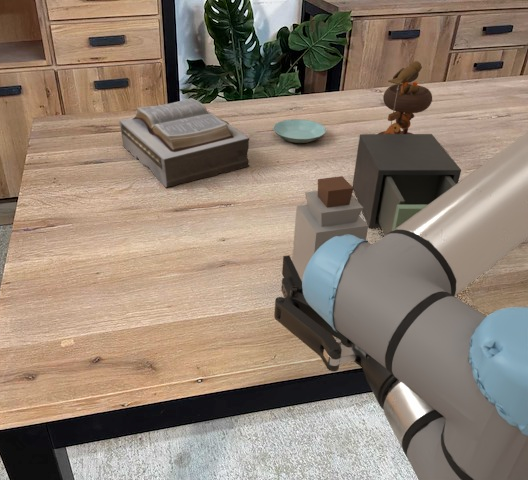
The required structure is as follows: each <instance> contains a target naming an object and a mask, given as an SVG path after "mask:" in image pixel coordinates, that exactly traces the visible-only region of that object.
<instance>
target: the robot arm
mask: <svg viewBox="0 0 528 480" xmlns="http://www.w3.org/2000/svg"><path fill="white" fill-rule="evenodd" d="M526 240H528V131H527V132H525V133H524V134H522V135H521V136H520V137H519V138H517V139H516V140H514V141H513V142H511V143H510V144H509V145H508V146H506V147H505V148H504V149H502V150H500V151H499V152H498V153H496V155H494V156H492V157H491V158H490V159H489V160H487V161H486V162H484V163H483V164H481V165H480V166H479V167H477V168H476V169H475V170H473V171H472V172H470V173H469V174H467V175H466V176H465V177H463V178H462V179H461V180H459V181H458V183H457V184H456V185H454V186H453V187H452V188H450V189H449V190H448V191H446V192H445V193H443V194H442V195H441V196H439V197H438V198H437V199H435V200H434V201H432V202H431V203H430V204H428V205H427V206H426V207H424V208H423V209H422V210H420V211H419V212H417V213H416V214H415V215H413V216H412V217H411V218H409V219H408V220H407V221H405V222H404V223H402V224H401V225H400V226H398V227H397V228H396V229H394V230H393V231H391V232H389V233H388V234H387V235H384V236H382V237H381V238H379V239H377V241H375V242H374V243H370V242H369V240H367V239H366V240H365V239H360V238H358V237H356V236H354V235H349V234H347V235H344V236H335V237H333V238H331V239H329V240H328V241H326V242H325V243H324V244H322V245H321V246H320V247H319V248H318V249H317V251H316V252H315V253H314V254H313V256H312V257H311V259H310V260H309V262H308V264H307V266H306V268H305V271H304V275H303V280H302V281H301V279H300V277H299V275H298V272H297V270H296V268H295V266H294V264H293V262H292V258H291V256H290V255H283V256H282V271H281V274H282V279H281V289H280V290H281V294H282V296H277V297H276V298H275V300H274V314H273V316H274V317H273V318H274V319H275V320H276V321H277V322H278V323H279V324H280V325H282V327H284V328H285V329H287V330H288V332H289V333H291V334H293V335H294V336H295V337H296V338H297V339H298V340H300V341H301V342H302V343H303V344H305V345H306V346H307V347H308V348H309V349H310V350H311V351H313V352H314V353H315V354H317V356H319V357H320V359H321V361H322V362H323V364H324V366H325V367H326V369H327V370H328V371H329V372H337V371H339V370H340V365H341V364H347V363H350V362H351V363H352V362H354V363H355V364H357V365H358V366H359V367H360V368H361V369H362V371H363V374H364V377H365V379H366V381H367V384H368V385H369V388H370V389H371V391H372V393H373V395H374V397H375V399H376V401H377V403H378V405H379V406H380V408H381V409H382V410H383V413H384V417H385V418H386V420H387V422H388V424H389V426H390V428H391V429H392V432H393V433H394V436H395V438H396V440H397V442H398V444H399V445H400V447H401V449H402V452H403V453H404V455H405V457H406V459H407V461H408V462H409V463H410V466H411V468H412V470H413V472H414V474H415V476H416V479H417V480H528V306H512V307H504V308H499V309H497V310H494V311H493V312H491V313H489V314H488V315H486V314H485V313H483V312H481V311H479V310H478V309H476V308H474V307H473V306H471V305H469V304H468V303H467V302H465V301H463V300H462V299H460V298H458V297H457V296H458V295H459V294H461V292H462V291H464V290H465V289H466V288H467V287H469V286H470V285H471V284H472V283H473V282H475V281H476V280H478V278H480V277H481V276H482V275H484V274H485V273H486V272H488V270H490V269H491V268H492V267H494V266H495V265H496V264H497V263H499V262H500V261H501V260H502V259H504V258H505V257H507V255H509V254H510V253H511V252H512V251H514V250H515V249H516V248H517V247H518V246H520V245H521V244H522V243H523V242H525V241H526Z"/></svg>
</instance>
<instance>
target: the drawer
mask: <svg viewBox="0 0 528 480" xmlns="http://www.w3.org/2000/svg"><path fill="white" fill-rule="evenodd" d="M454 185H456V183H455V182H454V181H453V179H452V178H451V177H450V176H449V175H383V181H382V186H381V192H380V198H379V203H378V209H377V215H376V217H377V219H378V222H379V224H380V226H381V228H380V229H381V231H382V233H383V235H384V236H385V235H387V234H388V233H389V232H391V231H393V230H394V229H396V228H397V227H398V226H400V225H401V224H402V223H404V222H405V221H407V220H408V219H409V218H411V217H412V216H413V215H415V214H416V213H417V212H419V211H420V210H422V209H423V208H424V207H426V206H427V205H428V204H430V203H431V202H432V201H434V200H435V199H437V198H438V197H439V196H441V195H442V194H443V193H445V192H446V191H448V190H449V189H450V188H452V187H453V186H454Z"/></svg>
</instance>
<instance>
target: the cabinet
mask: <svg viewBox="0 0 528 480" xmlns="http://www.w3.org/2000/svg"><path fill="white" fill-rule="evenodd" d="M461 174H462V169H461V168H460V167H459V165H458V164H457V163H456V161H455V160H454V159H453V158H452V156H451V155H450V154H449V153H448V152H447V150H446V149H445V148H444V147H443V146H442V145H441V143H440V142H439V141H438V140H437V139H436V137H435V136H434V135H433V134H432V133H412V134H378V133H367V134H365V133H364V134H363V133H360V134H359V138H358V145H357V151H356V159H355V165H354V172H353V180H352V185H351V186H352V187H353V188H354V189H353V193H354V195H355V197H356V198H355V199H356V200H357V201H358V202H359V203H360V204H361V206H362V207H363V209H362V211H361V213H362V216H363V217H364V221H365V222H366V223H367V225H368V229H382V228H381V226H380V224H379V222H378V219H377V217H376V215H377V209H378V203H379V198H380V192H381V186H382V181H383V175H449V176H450V177H451V178H452V179H453V181H454V182H455V183H456V184H457V183H458V182H460V177H461Z"/></svg>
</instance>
